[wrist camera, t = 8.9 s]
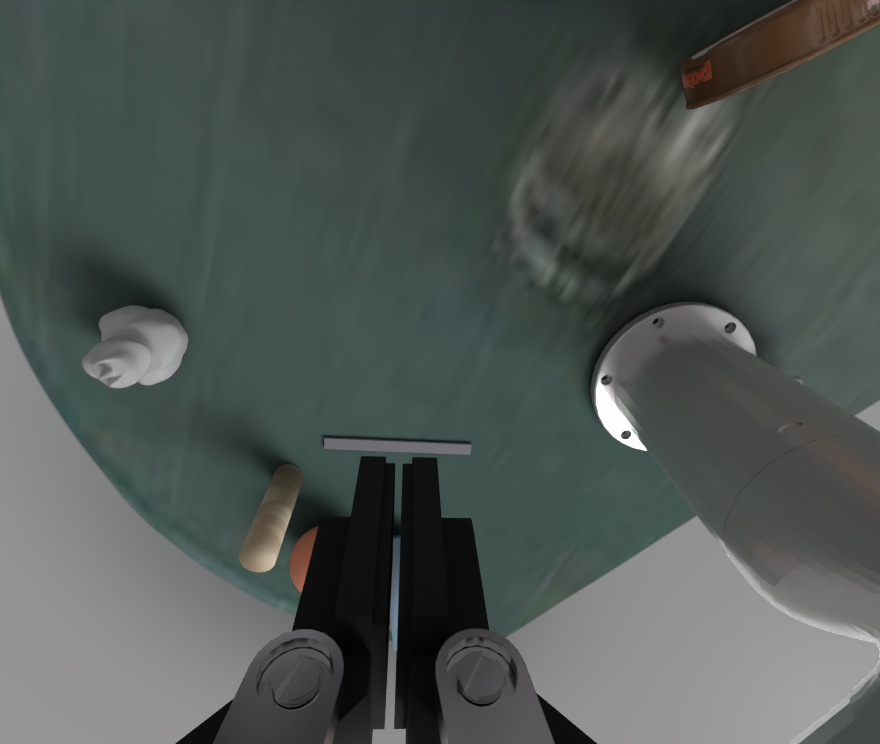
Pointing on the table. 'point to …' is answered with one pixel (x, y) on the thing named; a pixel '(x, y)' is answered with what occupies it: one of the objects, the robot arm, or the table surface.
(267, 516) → the birch pin
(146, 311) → the white figurine
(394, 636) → the pin
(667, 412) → the robot arm
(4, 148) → the table surface
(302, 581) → the ball
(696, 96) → the tin
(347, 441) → the lane line
